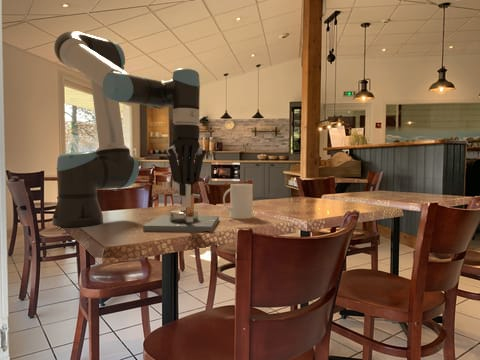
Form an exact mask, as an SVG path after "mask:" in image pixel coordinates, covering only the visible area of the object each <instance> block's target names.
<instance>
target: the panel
mask: <svg viewBox="0 0 480 360" xmlns="http://www.w3.org/2000/svg"><path fill="white" fill-rule="evenodd" d="M219 217H220V216H219V215H198V220H196V221H193V222H175V221H170V214H169V215H168V214H166V215H165V214H160V215H159V216H157V217H156V218H154V219H152V220H150V221H149V222H147V223H145V224H143V225H142V226H143V227H142V231H143V232H179V233H180V232H181V233H182V232H184V233H185V232H186V233H188V232H189V233H192V232H193V233H203V232H202V231H213V230H214V228H215V227H216V225H217V224H218V222H219V219H220V218H219ZM214 226H215V227H214ZM212 229H213V230H212Z"/></svg>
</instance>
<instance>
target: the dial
mask: <svg viewBox="0 0 480 360" xmlns="http://www.w3.org/2000/svg"><path fill="white" fill-rule="evenodd" d="M169 215H170V221H175V222H193V221H196V220H198V216H199V211H198V210H195V197H194V196H191V207H185V209H178V210H172V211H169Z"/></svg>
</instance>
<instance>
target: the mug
mask: <svg viewBox="0 0 480 360" xmlns="http://www.w3.org/2000/svg"><path fill="white" fill-rule="evenodd" d="M253 187H254V185H253V184H252V183H231V184H230V187H229V188H228V189H227V190H225V192H224V194H223V197H222V203H223V205H224V207H225V209H227V210H229V213H230V214H229V218H231V219H235V220H248V219H252V218H254V216H253V215H254V214H253V201H254V200H253V195H254V194H253ZM228 193H230V194H229V195H230V201H229V202H230V204H229V205H230V207H229V206H228V205H227V204H226V196H227V195H228Z"/></svg>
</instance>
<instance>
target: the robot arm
mask: <svg viewBox="0 0 480 360" xmlns="http://www.w3.org/2000/svg"><path fill="white" fill-rule="evenodd" d="M53 47H54V48H53V49H54V53H55V56H56V57H57V59H58V61H59V62H61V63H62V64H63V65H64V66H66V67H68V68H69V69H74V70H75V69H76V70H77V71H79V72H80V73H82V74H83V75H84V76H85V78H86V79H87V80H89V82H90V83H91V92H92V100H93V101H92V102H93V108H94V117H95V124H96V132H97V133H96V134H97V139H98V148H97V149H96V150H89V151H87V150H86V151H78V152H77V151H76V152H69V153H63V154H60V155H59V156H58V157H57V162H56V164H57V165H56V176H57V178H56V179H57V203H56V205H55V208H54V209H55V210H54V213H53V215H52V226H54V227H59V228H77V227H78V228H79V227H80V228H81V227H89V226H90V227H91V226H95V225H99V224H102V223H103V222H104V215H103V211H102V210H101V206H100V203H99V201H98V190H110V189H111V190H112V189H113V190H114V189H118V190H119V189H124V188H129V187H131V186H132V185H134V184H135V182H136V181H137V179H138V176H139V172H140V165H139V161H138V159H137V158H136V157H135V156H134V155H131V150H130V148H129V147H127V146H126V144H125V138H124V131H123V123H122V115H121V107H120V103H128V104H136V105H141V106H147V107H149V108H150V109H159V110H160V109H163V108H165V109H166V108H170V107H172V123H173V124H174V125H173V126H172V138H173V141H172V145H171V146H170V147H169V148H165V149H164V153H165V154H166V156H167V158H168V163H169V167H170V171H171V172H170V173H171V177H172V181H173V182H174V183H177V184H178V186H179V190H178V191H179V195H180V196H181V207H182V208H186V207H191V197H192V196H193V194H194V192H193V191H194V187H193V186H194V185H195V184H196V183H198V182H199V180H200V177H201V172H202V166H203V161H204V157H205V156H206V154H207V150H206V149H202V147H200V146H201V145H200V142H199V139H200V126H199V124H200V93H201V92H200V91H201V90H200V89H201V85H200V75H199V72H198V71H197V70H195V69H191V68H176V69H175V70H174V71H172V79H170V80H165V81H161V80H156V79H151V78H147V77H142V76H138V75H133V74H131V73H129V72H127V71H126V70H124V69H125V65H126V56H125V53H124V50H123V48H122V47H121V46H120V44H118V43H116V42H115V41H111V40H110V39H106V38H102V37H97V36H94V35H91V34H87V33H84V32H81V31H74V30H72V31H67V32H63V33H61V34H60V35H59V36H58V37H57V38H56V39H55V41H54V46H53Z"/></svg>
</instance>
